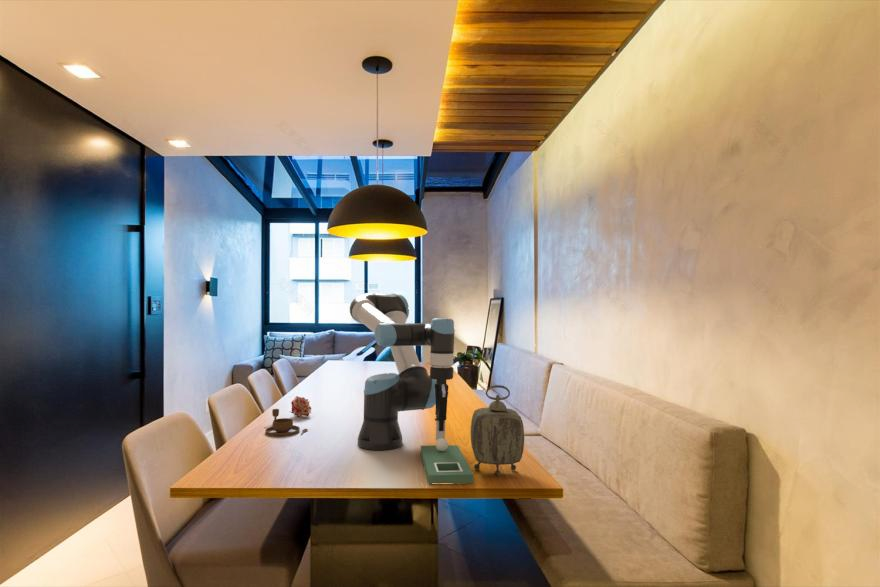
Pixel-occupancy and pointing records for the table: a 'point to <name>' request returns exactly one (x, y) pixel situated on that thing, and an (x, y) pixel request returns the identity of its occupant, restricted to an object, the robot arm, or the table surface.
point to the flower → (300, 407)
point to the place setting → (282, 426)
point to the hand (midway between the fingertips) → (440, 440)
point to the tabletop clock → (497, 434)
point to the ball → (441, 444)
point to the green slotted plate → (445, 465)
